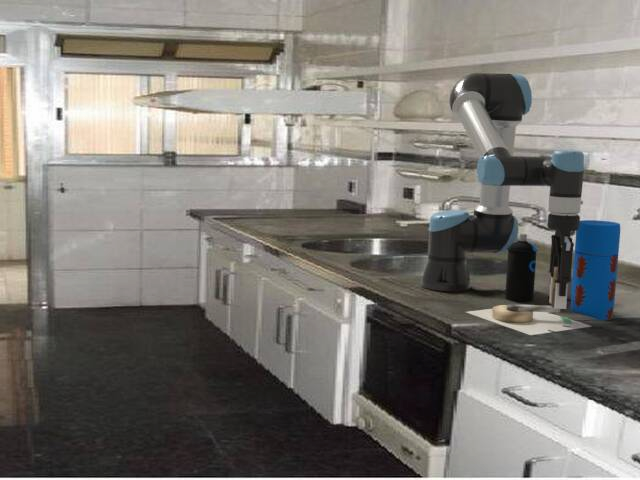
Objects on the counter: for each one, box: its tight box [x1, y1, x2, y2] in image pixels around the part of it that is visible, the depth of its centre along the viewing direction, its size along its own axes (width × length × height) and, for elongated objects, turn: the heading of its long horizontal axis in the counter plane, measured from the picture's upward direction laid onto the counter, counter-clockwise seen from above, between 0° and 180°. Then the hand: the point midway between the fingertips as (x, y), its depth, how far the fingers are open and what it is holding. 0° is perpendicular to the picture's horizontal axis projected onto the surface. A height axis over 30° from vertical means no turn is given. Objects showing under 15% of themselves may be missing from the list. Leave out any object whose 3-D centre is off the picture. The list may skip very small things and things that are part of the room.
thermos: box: [570, 219, 621, 322], centre depth 205 cm, size 11×11×25 cm
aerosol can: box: [504, 232, 538, 303], centre depth 217 cm, size 8×8×20 cm
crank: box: [491, 267, 561, 323], centre depth 195 cm, size 18×10×13 cm, turn 85°
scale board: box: [465, 308, 592, 336], centre depth 196 cm, size 24×21×2 cm
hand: (557, 305), depth 195 cm, fingers open, 5 cm apart
